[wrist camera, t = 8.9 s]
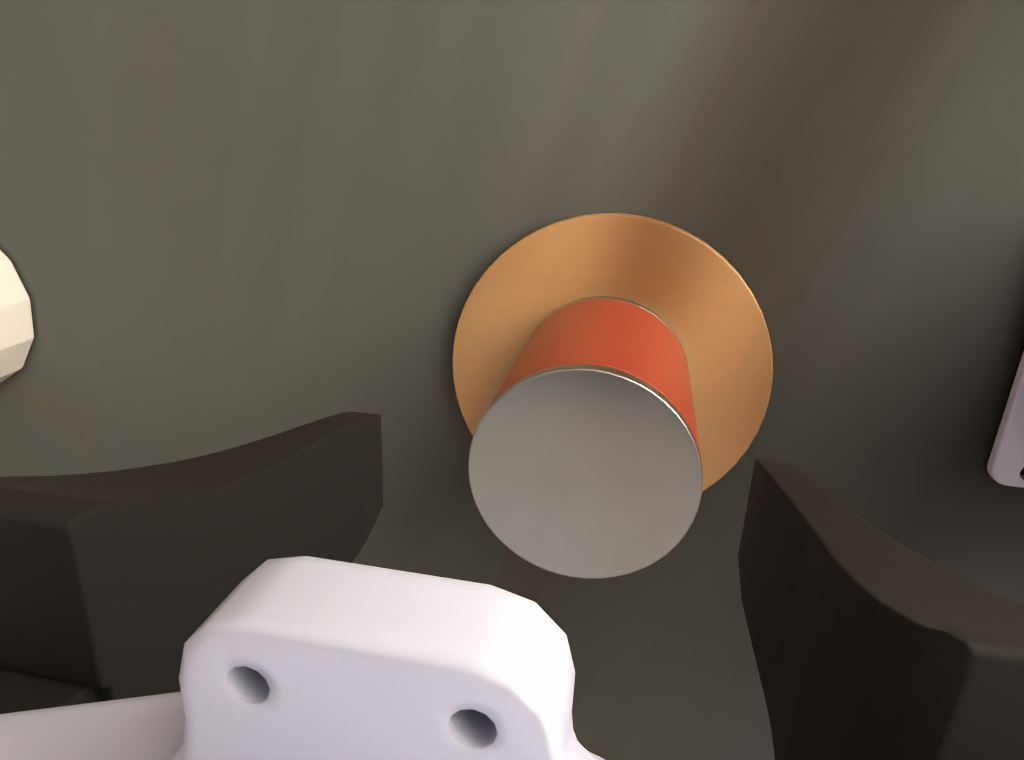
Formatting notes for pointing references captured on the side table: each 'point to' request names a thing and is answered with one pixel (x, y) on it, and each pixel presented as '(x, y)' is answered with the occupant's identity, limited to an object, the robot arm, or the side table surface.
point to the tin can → (591, 443)
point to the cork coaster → (638, 277)
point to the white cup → (13, 320)
